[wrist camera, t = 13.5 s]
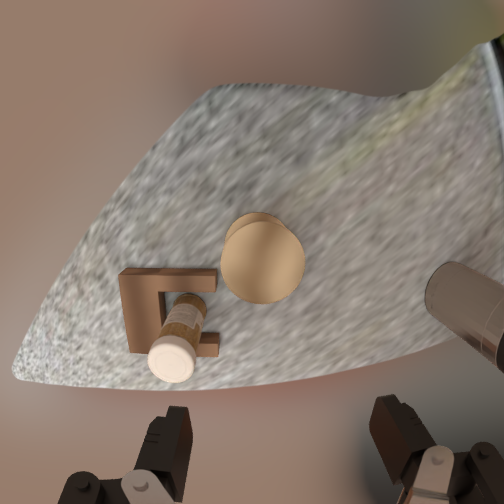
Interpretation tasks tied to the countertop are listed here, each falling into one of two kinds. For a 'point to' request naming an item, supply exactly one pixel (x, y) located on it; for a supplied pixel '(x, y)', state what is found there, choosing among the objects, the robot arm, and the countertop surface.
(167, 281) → the c-shaped block
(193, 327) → the sprinkles bottle
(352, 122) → the countertop surface
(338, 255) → the countertop surface
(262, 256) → the bobbin
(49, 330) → the countertop surface
